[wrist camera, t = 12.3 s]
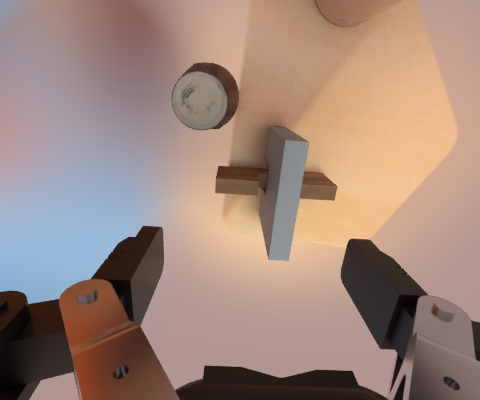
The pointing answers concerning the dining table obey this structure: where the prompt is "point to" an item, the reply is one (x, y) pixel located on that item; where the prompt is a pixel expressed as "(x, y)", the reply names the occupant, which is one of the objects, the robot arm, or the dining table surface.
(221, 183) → the walnut board
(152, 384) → the robot arm
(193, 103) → the sauce bottle
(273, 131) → the grey block
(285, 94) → the dining table surface
